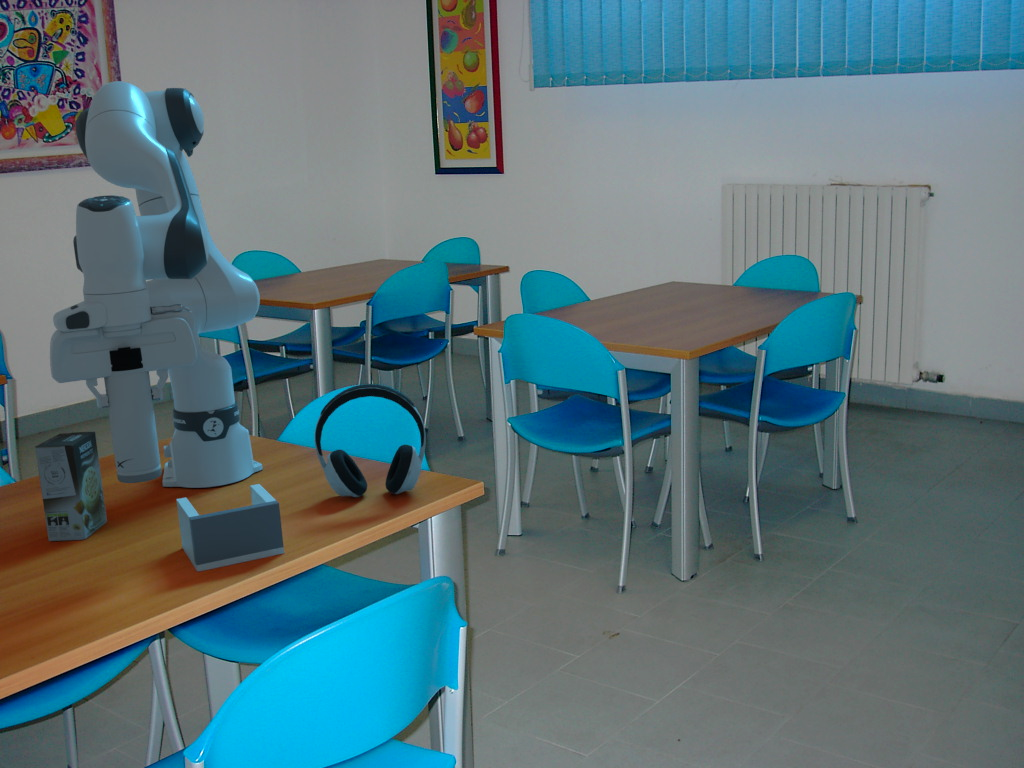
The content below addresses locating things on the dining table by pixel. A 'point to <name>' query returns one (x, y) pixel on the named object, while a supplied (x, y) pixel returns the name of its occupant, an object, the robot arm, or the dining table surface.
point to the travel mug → (132, 417)
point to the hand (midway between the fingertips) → (130, 403)
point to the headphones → (342, 466)
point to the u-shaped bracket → (231, 532)
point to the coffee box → (71, 486)
